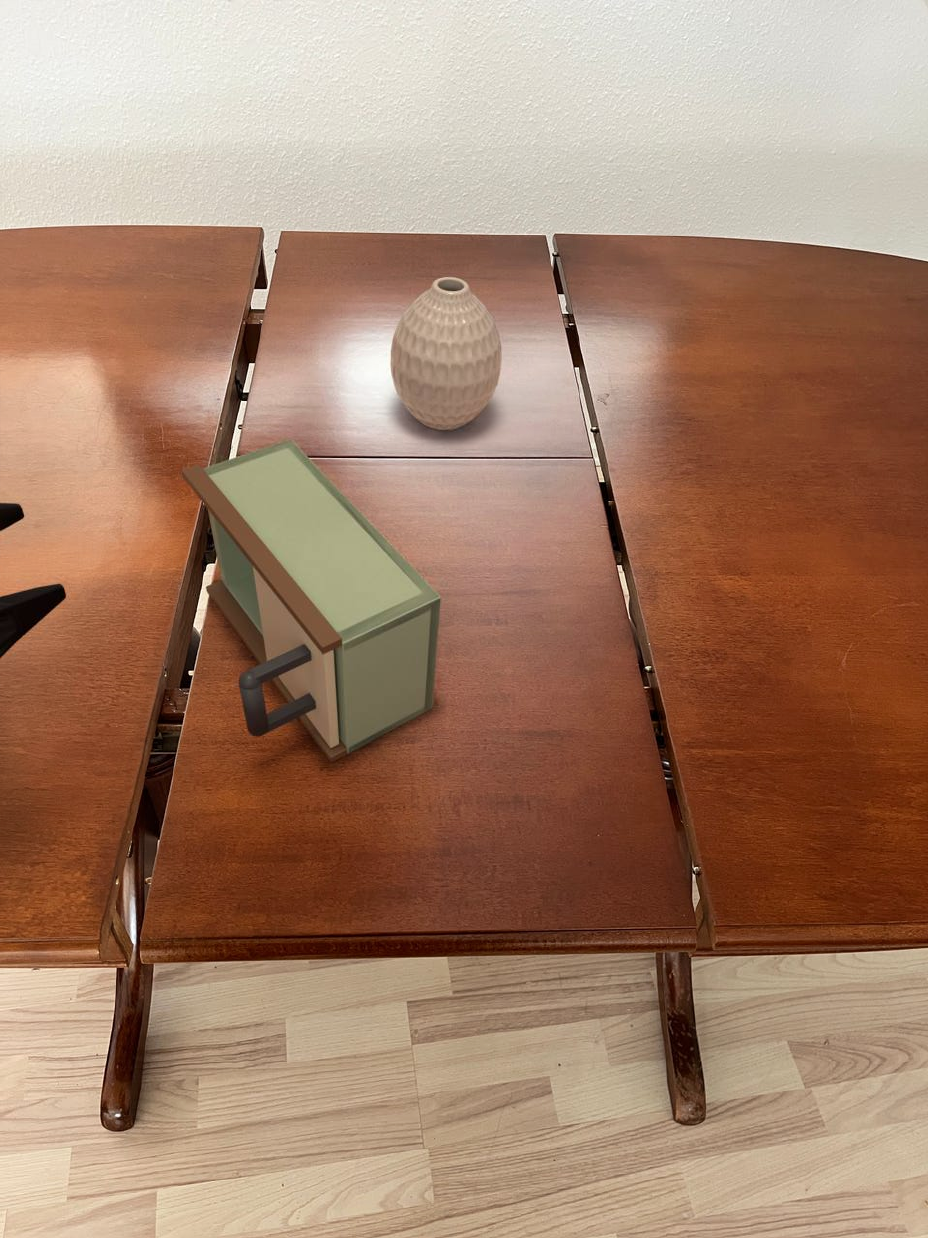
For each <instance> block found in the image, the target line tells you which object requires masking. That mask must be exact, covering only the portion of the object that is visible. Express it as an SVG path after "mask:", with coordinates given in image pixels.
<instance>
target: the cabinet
mask: <svg viewBox="0 0 928 1238" xmlns="http://www.w3.org/2000/svg"><path fill="white" fill-rule="evenodd" d="M180 471H181V477H182V479H183V480H184V481H185V482H186V483H187V485H188V486H189V488H190V489H191V490H192V491H193V492H194V494H195V495H196V496H197V497H198V499H199V500H200V501H201V502H202V504H203V505H204V506H205V508H206V509H207V512H208V518H209V523H210V528H211V533H212V538H213V544H214V548H215V549H214V550H215V554H216V560H217V564H218V570H219V577H220V580H218V581H215V582H213V583H211V584H209V585H205V589H206V590H205V591H206V593H207V594H208V596H209V597H210V598H211V600H212V601H213V603H215V605H216V607H217V608H218V609H219V611H220V612H221V613H222V615H223V617H224V618H225V619H226V621H227V622H228V623H229V625H230V626H231V627H232V629H233V630H234V631H235V633H236V634H237V636H238V637H239V638H240V640H241V641H242V643H243V644H244V645H245V647H246V648H247V650H248V651H249V652H250V654H251V655H252V656H253V658H254V659H255V660H256V662H257V664H258V665H260V664H262V663H264V662H267V658H266V651H265V644H264V638H263V631H262V624H261V618H260V611H259V604H258V598H257V591H256V584H255V577H254V571H253V567H254V568H255V569H256V571H257V572H258V573H259V574H260V576H261V577H262V578H263V579H264V581H265V582H266V583H267V585H268V586H269V587H270V588H271V590H272V591H273V592H274V593H275V595H276V596H277V597H278V598H279V600H280V601H281V602H282V604H283V605H284V606H285V607H286V609H287V610H288V611H289V612H290V614H291V615H292V616H293V617H294V619H295V620H296V621H297V622H298V624H299V625H300V626H301V628H302V629H303V630H304V631H305V633H306V634H307V635H308V636H309V638H310V639H311V640H312V641H313V643H314V644H315V645H316V647H317V648H318V649H319V650H320V652H321V653H322V654H325V653H327V652H329V651H332V650H333V651H334V668H335V685H336V701H337V718H338V735H339V744H338V745H336V746H334V747H332V748H330V746H329V745H328V744H327V742H326V741H325V740H324V738H323V737H322V736H321V734H320V733H319V731H318V730H317V729H316V727H315V726H314V725H313V723H312V722H311V721H310V719H309V718H308V716H307V715H306V714H304V715H302V716H300V717H298V718H297V719H298V720H299V721H300V723H301V724H302V726H303V727H304V729H306V731H307V732H308V734H309V735H310V736H311V738H312V739H313V741H314V742H315V744H316V746H318V748H319V749H320V750H321V752H322V754H323V755H324V756H325V758H327V760H328V761H329V763H331V764H332V763H334V762H335V761H338V760H339V759H341V758H343V757H345V756H347V755H349V754H351V753H352V752H354V751H356V750H358V749H360V748H362V747H363V746H365V745H367V744H369V743H371V742H373V741H375V740H376V739H378V738H380V737H381V736H383V735H386V734H388V733H389V732H391V731H393V730H395V729H397V728H398V727H400V726H402V725H404V724H405V723H407V722H410V721H411V720H413V719H415V718H417V717H418V716H421V715H423V714H424V713H427V712H428V711H430V710H432V709H433V705H434V695H435V694H434V693H435V682H436V680H435V679H436V670H437V669H436V668H437V653H438V642H439V627H440V616H441V605H442V604H441V603H442V602H441V601H442V596H441V595H440V594H439V593H438V592H437V591H436V590H435V589H434V588H433V587H432V586H431V584H430V583H428V581H427V580H426V579H425V578H424V577H423V576H422V575H421V574H420V573H419V572H418V571H417V570H416V569H415V568H414V567H413V566H412V565H411V564H410V562H409V561H407V559H406V558H404V556H403V555H402V554H401V553H400V552H399V551H398V550H397V549H396V548H395V547H394V546H393V545H392V544H391V542H389V541H388V539H387V538H386V537H385V536H384V535H383V534H382V533H381V532H380V531H379V530H378V529H377V528H376V527H375V526H374V524H372V523H371V522H370V520H369V519H367V517H366V516H364V514H363V513H362V512H361V511H360V510H359V509H358V508H357V507H356V506H355V505H354V504H353V503H352V502H351V500H350V499H349V498H347V496H346V495H345V494H344V493H343V492H342V491H341V490H340V489H339V488H338V487H337V486H336V485H335V484H334V483H333V482H332V481H331V479H329V477H328V476H327V475H325V473H324V472H323V471H322V470H321V469H320V468H319V466H317V465H316V464H315V462H313V461H312V459H311V458H310V457H309V456H307V454H306V453H305V452H304V451H303V450H302V449H301V448H300V447H299V446H298V444H296V442H295V441H293V440H292V438H288V439H286V440H282V441H280V442H277V443H273V444H271V445H269V446H265V447H262V448H260V449H259V448H258V449H256V450H253V451H251V452H250V451H249V452H248V453H245V454H242V455H239V456H236V457H233V458H229V459H227V460H224V461H221V462H218V463H215V464H212V465H209V466H207V467H202V466H201V464H199V463H197V464H195V465H191V466H188V467H186V468H182V469H181V470H180ZM270 681H271V682H272V684H273V686H274V687H275V688H276V690H277V691H278V692H279V694H280V695H281V696H282V698H283V699H284V701H285V702H286V704H288V703H290V702H292V701H294V700H295V699H294V697H293V696H292V695H291V693H290V692H289V691H288V689H287V688H286V686H285V685H284V684H283V682H282V681H281V680H280V678H279V677H278V676H277V677H275V678H273V679H271V680H270Z"/></svg>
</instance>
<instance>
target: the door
mask: <svg viewBox="0 0 928 1238" xmlns="http://www.w3.org/2000/svg"><path fill="white" fill-rule="evenodd" d="M253 571H254V577H255V584H256V591H257V598H258V604H259V611H260V618H261V624H262V631H263V638H264V644H265V651H266V658H267V662H264V663H262V664H260V665H259V664H258V665H256V666H254V667H251V668H250V669H248V670H245V671H243V672H242V673H241V674H240V675H239V677H238V688H239V693H240V697H241V702H242V708H243V713H244V718H245V719H244V720H245V723H246V728H247V729H246V730H247V732H248V734H250V736H253V737H256V738H259V737H262V736H264V735H266V734H268V733H271V732H272V731H274V730H276V729H278V728H281V727H282V726H284V725H286V724H288V723H290V722H292V721H294V720H296V719H299V718H298V717H300V716H302V715H304V714H306V715H307V716H308V718H309V719H310V721H311V722H312V723H313V725H314V726H315V727H316V729H317V730H318V731H319V733H320V734H321V736H322V737H323V738H324V740H325V741H326V742H327V744H328V745H329V746H330V748H332V747H334V746H336V745H338V744H339V735H338V718H337V701H336V685H335V668H334V651H333V650H332V651H329V652H327V653H325V654H322V653H321V652H320V650H319V649H318V648H317V647H316V645H315V644H314V643H313V641H312V640H311V639H310V638H309V636H308V635H307V634H306V633H305V631H304V630H303V629H302V628H301V626H300V625H299V624H298V622H297V621H296V620H295V619H294V617H293V616H292V615H291V614H290V612H289V611H288V610H287V609H286V607H285V606H284V605H283V604H282V602H281V601H280V600H279V598H278V597H277V596H276V595H275V593H274V592H273V591H272V590H271V588H270V587H269V586H268V585H267V583H266V582H265V581H264V579H263V578H262V577H261V576H260V574H259V573H258V572H257V571H256V569H255V568H254V567H253ZM277 676H278V677H279V678H280V680H281V681H282V682H283V684H284V685H285V686H286V688H287V689H288V691H289V692H290V693H291V695H292V696H293V697H294V699H295V700H294V701H292V702H290V703H285V704H283V705H282V706H280V707H278V708H276V709H274V710H272V711H270V712H268V713H267V707H266V701H265V696H264V689H263V684H265V683H267V682H270V681H271V679H273V678H275V677H277Z"/></svg>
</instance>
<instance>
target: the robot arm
mask: <svg viewBox="0 0 928 1238" xmlns="http://www.w3.org/2000/svg"><path fill="white" fill-rule="evenodd" d="M24 518H25V512H24V509H23V507H22V504H20V503H13V502H0V532H3V531H4V530H6V529H8V528H9V527H11V526H13V525H15V524H16V523H18V522H20V521H21V520H23V519H24ZM66 598H67V593H66V590H65V587H64V585H63V584H62V583H55V584H48V585H43V586H36V587H33V588H30V589H26V590H25V589H24V590H22V591H17V592H13V593H8V594H5V595H2V596H0V660H1V659H2V658H3V656H5V654H6V653H7V652H9V650H10V649H12V647H13V646H15V644H17V642H19V641H20V640H21V639H22V638H23V637H24V636H25V635H26V634H27V633H29V631H30V630H32V629H33V628H34V627H35V626H36V625H37V624H39V623H40V621H43V619H44V618H46V617H47V616H48V615H49V614H50V613H52V611H53V610H55V609H56V608H57V607H58V606H59V605H60V604H61V603H63V601H64V600H66Z"/></svg>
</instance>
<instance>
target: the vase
mask: <svg viewBox="0 0 928 1238" xmlns="http://www.w3.org/2000/svg"><path fill="white" fill-rule="evenodd" d="M502 356H503V355H502V343H501V339H500V334H499V331H498V328H497V325H496V323H495V321H494V319H493V317H492V314H491V313H490V312H489V310H488V309H487V307H486V306H485V304H484V303H483V302H482V301H481V299H480V298H478V297H477V296H476V295H475V294H474V293H473V292H472V291H471V289H470V286H469V284H468V282H466V281H465V280H463V279H461V278H458V277H454V276H443V277H440V278H437V279H435V280H434V281H433V282H432V283H431V286H430V288H429V289H427V290H426V291H424V292H423V293H422V294H420V295H419V296H418V297H417V298H416V299H414V300H413V301H412V302H411V303H410V305H409V306H408V307H407V308H406V310H405V311H404V313H403V314H402V316H401V317H400V319H399V321H398V323H397V325H396V328H395V330H394V334H393V337H392V341H391V347H390V373H391V378H392V382H393V386H394V388H395V389H394V390H395V391H396V393H397V395H398V397H399V399H400V401H401V402H402V404H403V406H404V407H405V408H406V410H407V411H408V412H409V413H410V415H412V416H413V417H414V418H415V419H416V420H417V421H418V422H419V423H421V424H422V425H423V426H426V427H427V428H430V429H432V430H437V431H453V430H457V429H459V428H461V427H463V426H465V425H467V424H468V423H470V422H472V420H474V419H475V418H476V417H477V416H478V415H479V414H480V413H481V412H482V411H483V410H484V409H485V408H486V406H487V405H488V404H489V402H490V400H491V399H492V398H493V396H494V393H495V391H496V389H497V387H498V383H499V380H500V376H501V369H502V358H503V357H502Z"/></svg>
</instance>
